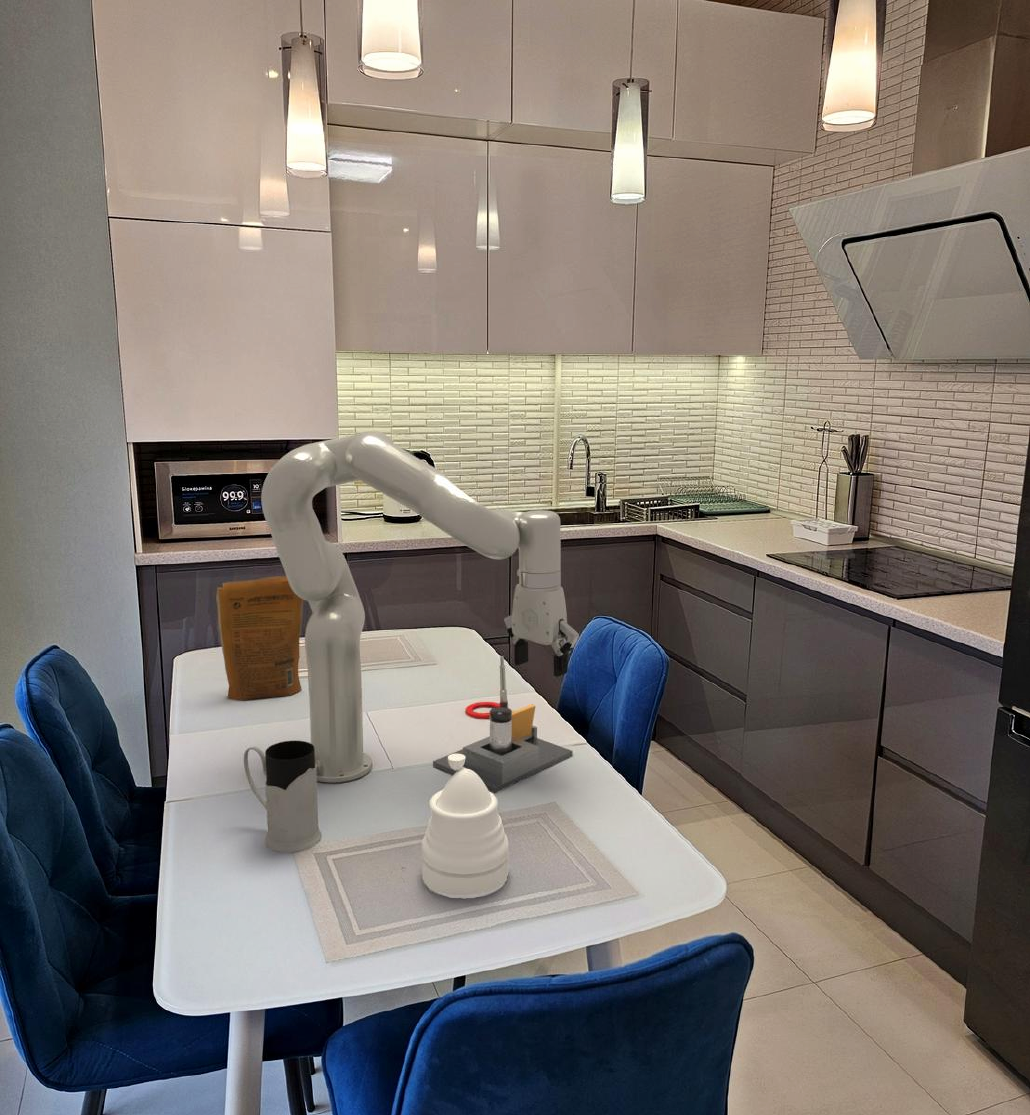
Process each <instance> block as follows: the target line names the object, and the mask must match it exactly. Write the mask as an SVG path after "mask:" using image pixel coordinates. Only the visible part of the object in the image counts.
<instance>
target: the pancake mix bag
mask: <svg viewBox="0 0 1030 1115" xmlns="http://www.w3.org/2000/svg"><path fill="white" fill-rule="evenodd" d="M221 585H222V587H217V588H216V594H215V597H216V599H215V600H216V606H217V626H218V632H219V639H220V640H219V641H220V645H221V648H222V649H221V650H222V655H223V656H222V657H223V660H224V661H223V662H224V668H225V669H224V670H225V673H226V677H227V678H226V679H227V683H228V692H227V696H226V697H227V698H228V699H230V700H234V701H243V702H244V701H253V700H260V699H270V698H278V697H288V696H289V697H290V696H294V695H296V694H298V693H300V692H301V691H302V688H303V687H302V685H301V681H300V676H299V674H300V673H299V661H300V636H301V631H302V630H301V629H302V622H303V603H304V600H303V599H301V598H299V597H298V596H297V595H296V594H295V593H294V592H293V590H292V589H291V587H290V585H289V582H288V580H287V577H286V575H279V576H270V577H262V578H257V579H256V578H255V579H250V580H237V581H227V582H222V584H221Z"/></svg>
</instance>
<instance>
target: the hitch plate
mask: <svg viewBox="0 0 1030 1115" xmlns="http://www.w3.org/2000/svg"><path fill="white" fill-rule="evenodd" d="M531 735H532V737H531V738H530V739H527V740H525V741H523V740H520V739H517V738H515V737H512V736H511V752H510V753H507V754H505V755H503V756H501V755H498V754H496V753H493V752H491V751H490V735H489V736H487V737H485V738H482V739H480V740H477V741H474V742H472V743H470V744H467V745H466V746H463V747H462V749H459V750H457V751H455V752H452V753H450V754H448V755H444V756H442V757H440V758H438V759H436V760H433V761H432V767H434V768H436V769H438V770H441V771H442V772H445V773H447V774H449V775H452V776H453V775H454V774H455V773H456V772H457V771H459V770H454V769H452V768H451V767H450V765H449V763H448V756H449V755H451V754H462V755H464V756H465V763H464V765H463V767H464V768H466V769H470V770H472V771H474V772H475V773H476V774H477V775H478V776H479V777H480V778H481V779H482V781H483V782H484V784H485V786H486V787H487V789H488V791H489V792H491V793H492V794H496V793H498V792H500V791H501V790H504V789H506V788H508V787H511V786H512V785H514V784H517V783H519V782H521V781H523V780H525V779H526V778H529V777H531V776H533V775H536V774H537V773H540V772H541V771H544V770H546V769H548V768H550V767H551V766H553V765H557V764H558V763H560V762H562V761H564V760H567V759H568V758H570V757H572V756H573V750H571V749H568V748H566V747H563V746H560V745H558V744H554V743H552V742H549V741H546V740H543V739H541V738H538V727H537V726H534V725H533V724H532V730H531Z"/></svg>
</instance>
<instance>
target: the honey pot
mask: <svg viewBox="0 0 1030 1115" xmlns="http://www.w3.org/2000/svg"><path fill="white" fill-rule="evenodd" d="M450 754H451V755H450ZM450 754H448V755H449V756H448V763H449V765H450V767H451V768H452V769H454V770H459V771H457V772H456V773H455V774H454V775H452V776H451V777H450V778H449V779H448V781H447V783H446V784H445V786H444V788H443V789H441V790H439V791H437V792H435V794H433V795H432V796H431V798H430V800H429V802H428V803H429V804H428V805H429V807H428V808H429V810H430V811H431V812H432V815H431V817H430V818H429V820H428V826H427V828H426V830H425V831H426V832H425V835H424V837H423V839H422V842H421V877H422V878H421V879H423V880H424V882H425V884H426V885H427V886H429V887H430V888H431V889H432V890H435V891H437V892H442V893H446V894H451V895H470V894H479V893H482V892H488V891H490V890H492V889H495V888H496V887H497V886H499V885H500V884H502V883H503V881H504V880H505V879H507V876H508V872H509V871H510V870H509V869H510V867H509V866H510V862H509V861H510V860H509V859H510V855H509V852H510V851H509V850H510V849H509V847H510V844H509V843H510V842H509V840H508V836H507V834H506V833H505V828H504V826H503V822H502V817H501V816H500V815H499V812H498V810H497V808H498V805H499V802H498V798H497V797H496V796H495V795H494V794H495V793H493V792H491V791H488V789H487V787H486V786H485V784H484V782H483V781H482V779H481V778H480V777H479V776H478V775H477V774H476V773H475V772H474V771H472V770H470V769H466V768H464V767H463V765H464V763H465V756H464V755H462V754H452V753H450ZM509 873H510V872H509ZM508 877H509V876H508ZM423 880H422V881H423ZM507 880H508V879H507ZM424 882H423V883H424ZM425 884H424V885H425Z"/></svg>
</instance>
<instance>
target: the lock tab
mask: <svg viewBox="0 0 1030 1115" xmlns="http://www.w3.org/2000/svg"><path fill="white" fill-rule="evenodd" d="M535 711H536V705H535V704H533V703H532V704H530V705H528V706H525V707H522V708H520V709H519V708H518V709H517V710H515V711H512V732H511V736H512V737H515V738H517V739H520V740H523V741H525V740H527V739H530V738H531V737H532V735H531V730H532V725H533V723H534V718H535Z"/></svg>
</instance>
